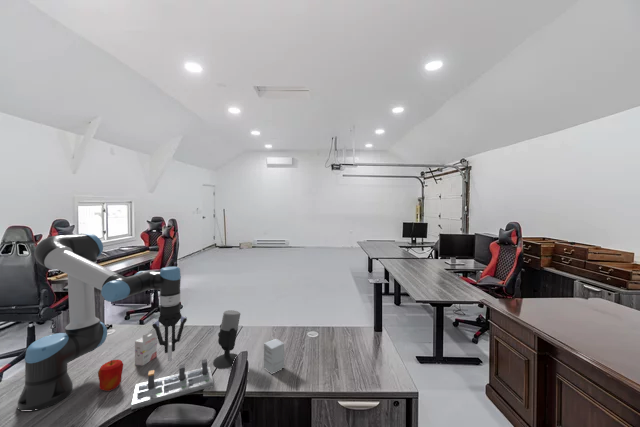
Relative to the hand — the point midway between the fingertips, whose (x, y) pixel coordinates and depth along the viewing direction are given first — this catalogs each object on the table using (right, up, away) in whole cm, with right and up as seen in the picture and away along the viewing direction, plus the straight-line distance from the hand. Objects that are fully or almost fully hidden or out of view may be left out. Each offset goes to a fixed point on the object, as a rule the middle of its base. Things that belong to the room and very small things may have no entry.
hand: (169, 359), depth 110 cm
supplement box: (+41, -14, +16) cm, 47 cm away
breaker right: (+12, -11, +7) cm, 17 cm away
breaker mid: (+4, -11, +3) cm, 12 cm away
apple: (-25, -13, 0) cm, 28 cm away
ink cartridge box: (-24, -13, +21) cm, 34 cm away
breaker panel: (+2, -13, +1) cm, 13 cm away
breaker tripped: (-6, -11, -3) cm, 13 cm away
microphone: (+16, -14, +22) cm, 30 cm away
